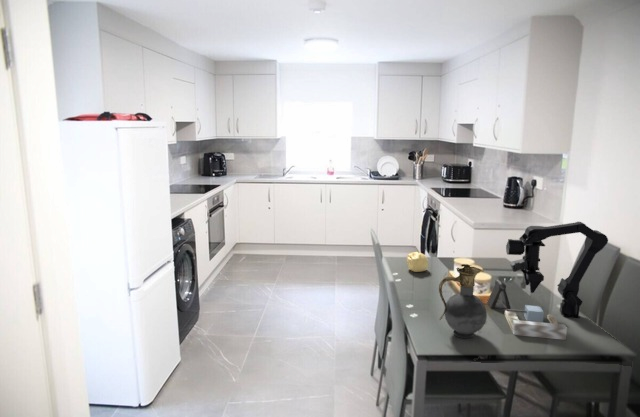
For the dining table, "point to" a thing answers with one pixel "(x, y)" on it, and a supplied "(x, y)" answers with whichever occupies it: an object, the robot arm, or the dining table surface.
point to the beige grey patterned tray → (536, 327)
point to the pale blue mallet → (531, 313)
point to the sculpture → (417, 262)
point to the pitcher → (464, 304)
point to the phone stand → (494, 296)
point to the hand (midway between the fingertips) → (529, 288)
